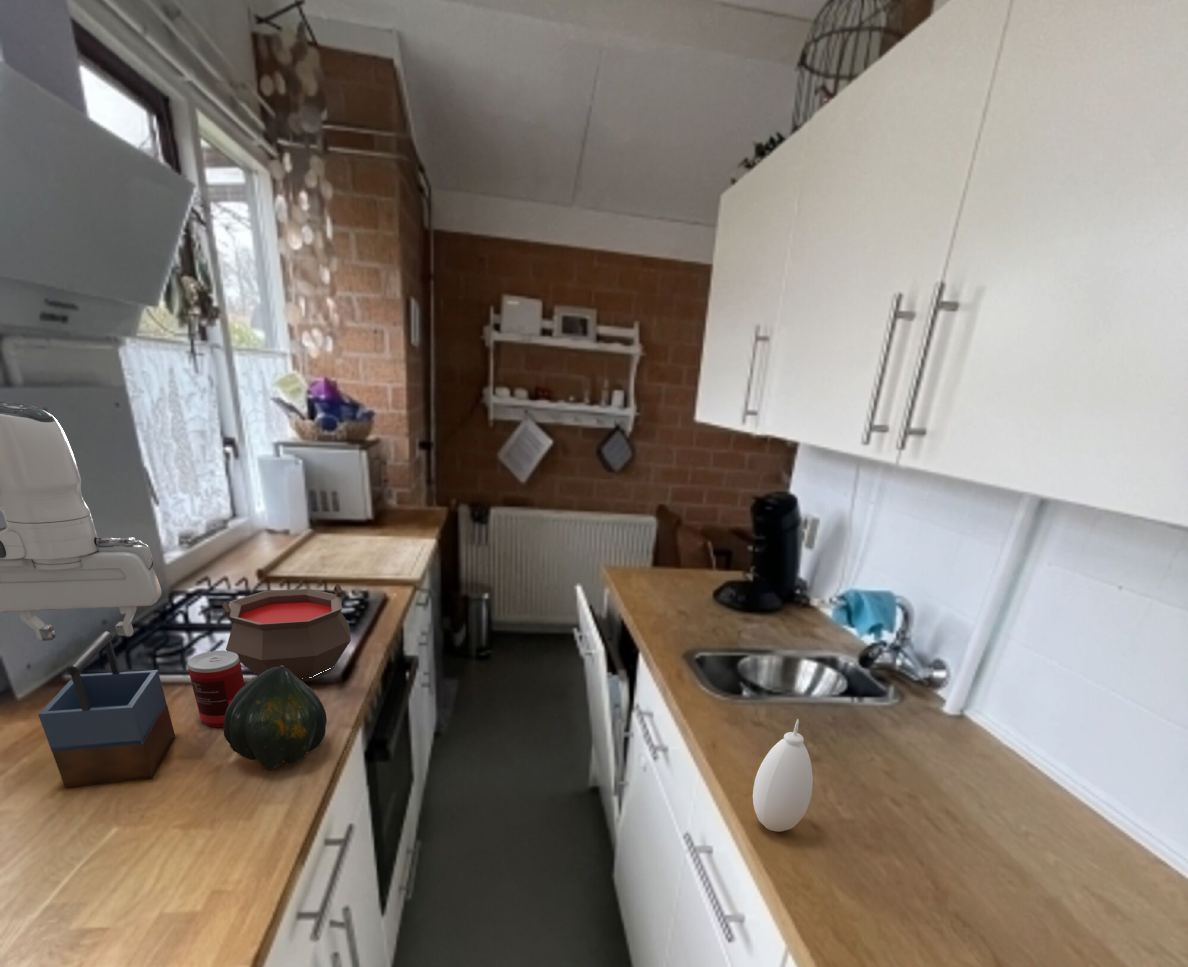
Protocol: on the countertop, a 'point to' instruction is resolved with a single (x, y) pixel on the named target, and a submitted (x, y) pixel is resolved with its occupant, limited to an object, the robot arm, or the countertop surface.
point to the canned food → (215, 684)
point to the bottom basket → (117, 759)
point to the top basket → (103, 705)
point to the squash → (275, 719)
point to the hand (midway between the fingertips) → (87, 637)
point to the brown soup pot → (288, 631)
